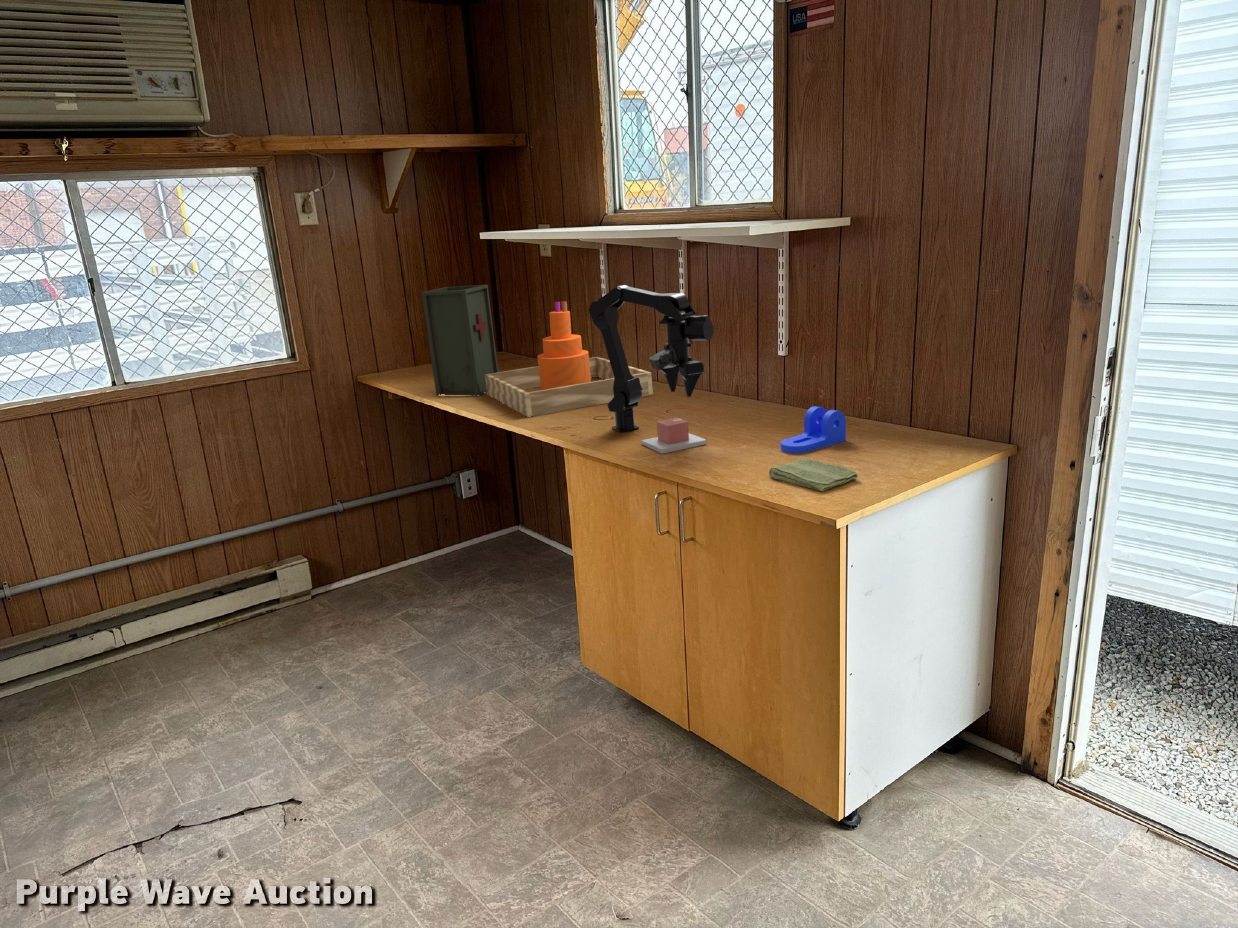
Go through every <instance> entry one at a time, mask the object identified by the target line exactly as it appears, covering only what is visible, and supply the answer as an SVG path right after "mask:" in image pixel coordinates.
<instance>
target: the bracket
mask: <svg viewBox="0 0 1238 928" xmlns="http://www.w3.org/2000/svg"><path fill="white" fill-rule="evenodd" d="M803 420H804V421H803V424H804V425H803V429H804V430H803V432H802V434H800V435H799V434H798V435H795V436H792V437H788V438H785V439H782V440H781V441H780V451H781V452H782V453H783V452H784V453H786V454H795V455H797V454H805V453H809V452H812V451H816V450H819V449H823V448H826V447H830V446H832V445H836V444H840V443H843V442H846V441H847V440H846V439H847V435H846V434H847V428H846V427H847V422H846V421H847V420H846V416H845V413H844V412H842V411H841V410H835V409H829V410H827V409H825V408H824V407H821V406H816V405H815V406H814V405H813V406H811V407H810V408H808V409H807V410H806V413H805V415H804V418H803Z"/></svg>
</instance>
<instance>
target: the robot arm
mask: <svg viewBox="0 0 1238 928" xmlns="http://www.w3.org/2000/svg"><path fill="white" fill-rule="evenodd" d="M625 302H626V303H631V304H636V305H640V306H644V307H649V308H652V309H654V310H656V312H658V313H659V314H662V315H663V317H662V318H661V320H660V321H659V325H665V326H666V337H667V338H666V339H667V343H664V345H663V350H661V351H659V352H657V353H655V354H654V355H652V356H650V357H649V358H648V360H649V362H650V365H651V367H652V369H653V370H657V371H660V372H662V374H664V376H665V378H666V381H667V382H666V383H667V385H668V387H669V390H670V392H672V393H674V392H676V389H677V384H678V379H679V377H681V378H682V379H683V383H684V388H685V395H686V397H687V398H690V397H692V395H693V392H694V390H695V387H696V385H697V382H698V381H699V379H700V377H701V376H702V375H703V373H705V372H706V370H705V364H704V363H703V362H702V361H699V360H693V358H692V357H691V356H689V355H690V354H689V352H690V351H689V347H692V343H691V342H690V341H711V340H712V338H713V337H714V333H715V332H714V331H715V327H714V323H713V322H712V321H711V319H710V316H709V314H705V315H698V313H697V312H696V311H695V309H694V308H693V306H692V305H691V304H690V302H689V299H688V297H687V295H686V294H685V293H681V292H680V293H679V292H674V293H673V292H669V293H668V292H667V293H658V292H654V291H650V290H646V289H641V288H637V287H632V286H629V285H627V284H620V285H617V286H614V288H612V289H611V290H610V291H609V292H607V293H606V294H604V295H603V296H602V297H600V298H598V299H597V300H594V301H592V302H591V303H590V305H589V307H588V313H589V317H590V318H591V320H592V322H593V325H595V327H596V328H597V329H598V330H599V332H600V333H601V336H602V340H603V343H604V347H605V350H606V353H607V357H608V360H609V361H610V364H611V368H612V371H613V374H614V384H613V393H614V397H613V399H612V400H611V401H610V402H609V403H607V408H608V411H609V412H610V413H611V412H612V413H614V422H615V425H612V426H611V429H613V430H614V431H617V432H619V433H623V432H628V431H633V430H638V429H640V426H638V425H637V424H635V416H634V408H636V407H638V406H639V402H640V400H641V398H642V390H643V389H642V387H641V385H640V379H639V378H638V377H637V378H634V377H633V376H632V375H631V373H630V371H629V367H628V366H629V365H628V361H627V358H626V354H625V350H624V347H623V344H622V340H621V337H620V336H621V335H620V333H619V330H618V323H619V318H620V317H619V309H620V307H622V306H623V304H624V303H625ZM689 340H690V341H689Z"/></svg>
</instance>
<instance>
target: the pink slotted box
mask: <svg viewBox="0 0 1238 928" xmlns="http://www.w3.org/2000/svg"><path fill="white" fill-rule="evenodd" d="M656 430H657V431H656V432H657V437H658V440H659V441H662V442H664V443H666V444H674V443H679V442H684V441H688V440H689V433H690V432H689V421H687V420H684V419H682V418H679V417H674V418H673V417H672V418H668V419H662V420H657V421H656Z"/></svg>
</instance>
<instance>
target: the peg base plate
mask: <svg viewBox="0 0 1238 928" xmlns="http://www.w3.org/2000/svg"><path fill="white" fill-rule="evenodd" d="M641 445H642V446H644V447H647V448H649V449H651V450H653V451H655V452H657V453H660V454H661V455H663V454H667V453H671V452H676V451H681V450H685V449H691V448H695V447H699V446H704V445H707V439H705V438H703V437H700V436H698V435H695V434H692V433H690V432H689V440H688V441H684V442H679V443H674V444H666V443H664V442H662V441H659V440H658V436H656V437H651V438H650V437H649V438H644V439H641Z"/></svg>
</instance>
